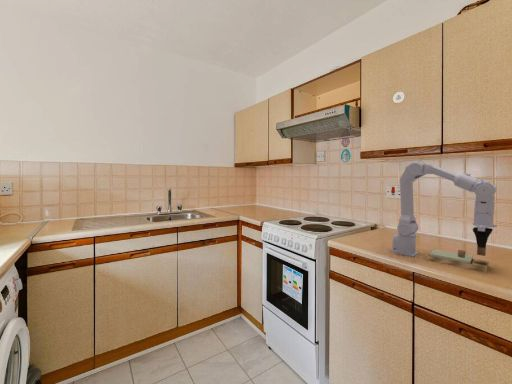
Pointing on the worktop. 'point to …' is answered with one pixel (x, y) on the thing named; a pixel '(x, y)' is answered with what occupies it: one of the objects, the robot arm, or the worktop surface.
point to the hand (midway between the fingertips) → (481, 246)
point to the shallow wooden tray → (462, 263)
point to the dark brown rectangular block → (481, 251)
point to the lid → (452, 255)
